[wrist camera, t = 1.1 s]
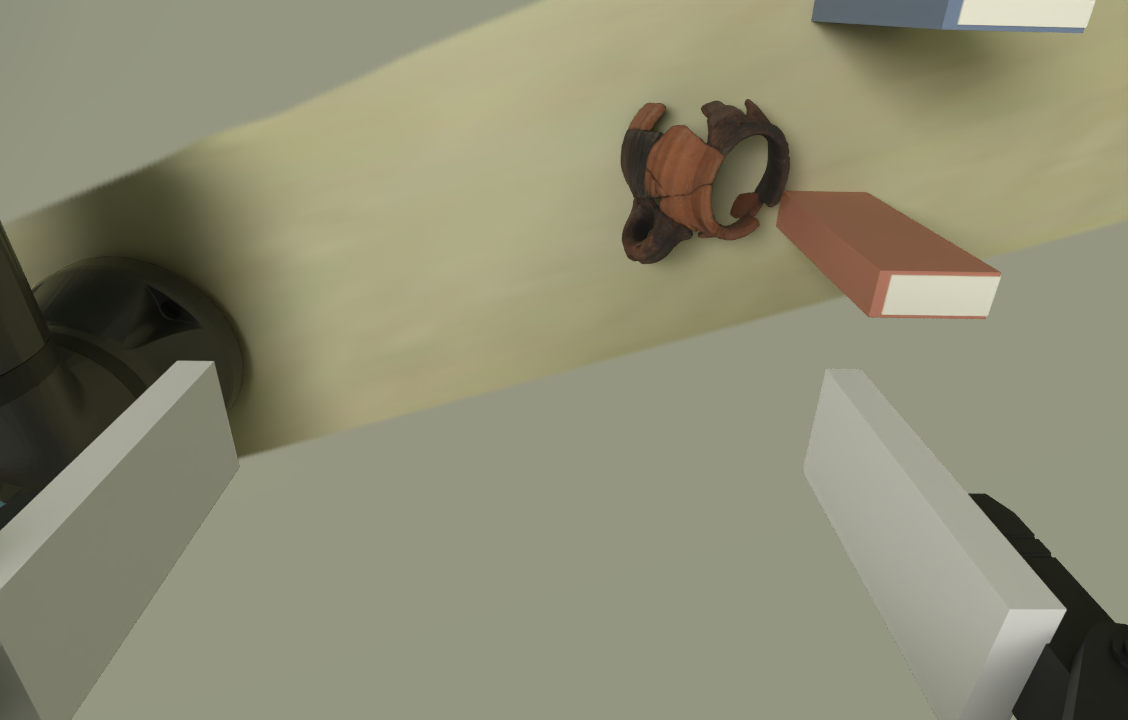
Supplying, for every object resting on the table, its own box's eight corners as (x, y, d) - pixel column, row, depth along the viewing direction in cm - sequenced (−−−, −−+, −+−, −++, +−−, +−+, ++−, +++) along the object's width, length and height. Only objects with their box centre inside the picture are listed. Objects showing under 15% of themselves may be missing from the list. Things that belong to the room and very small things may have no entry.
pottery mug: (661, 51, 43) (752, 74, 37) (736, 128, 50) (824, 158, 44) (561, 215, 45) (632, 261, 39) (646, 269, 52) (718, 315, 46)
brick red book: (776, 225, 49) (869, 318, 34) (782, 190, 47) (881, 271, 33) (860, 227, 49) (988, 319, 34) (868, 192, 48) (1003, 273, 33)
